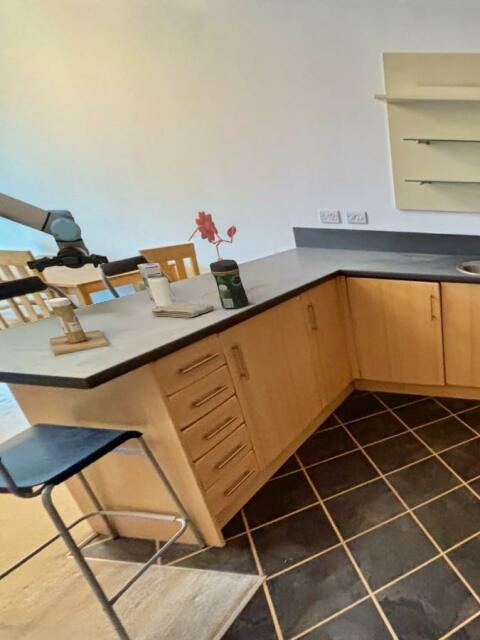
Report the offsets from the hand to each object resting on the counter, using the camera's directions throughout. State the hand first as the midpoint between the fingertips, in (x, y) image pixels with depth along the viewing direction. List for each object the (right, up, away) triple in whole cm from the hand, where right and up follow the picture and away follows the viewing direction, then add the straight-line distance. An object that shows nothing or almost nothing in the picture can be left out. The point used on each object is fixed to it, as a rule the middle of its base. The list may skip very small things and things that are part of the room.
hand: (67, 266), depth 140 cm
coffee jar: (+36, -8, +31) cm, 49 cm away
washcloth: (+22, -12, +22) cm, 34 cm away
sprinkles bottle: (+12, -26, -8) cm, 30 cm away
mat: (+12, -27, -8) cm, 30 cm away
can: (+8, -8, +31) cm, 33 cm away
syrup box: (-3, -3, +41) cm, 41 cm away
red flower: (+21, 0, +47) cm, 51 cm away
